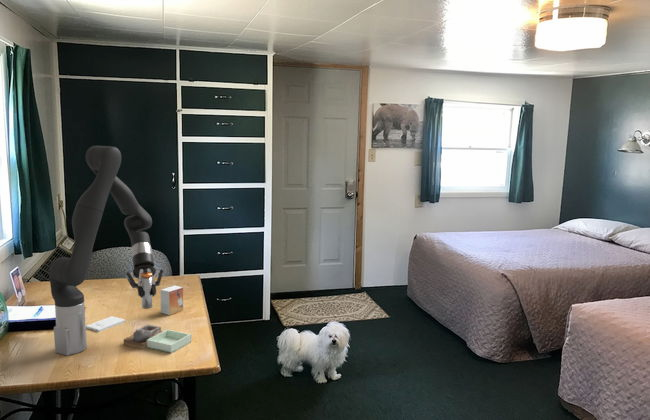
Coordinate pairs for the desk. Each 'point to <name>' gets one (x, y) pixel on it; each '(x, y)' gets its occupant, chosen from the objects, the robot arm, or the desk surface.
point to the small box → (171, 300)
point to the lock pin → (146, 290)
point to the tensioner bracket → (142, 336)
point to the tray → (169, 341)
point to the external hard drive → (105, 324)
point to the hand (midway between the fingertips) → (147, 295)
